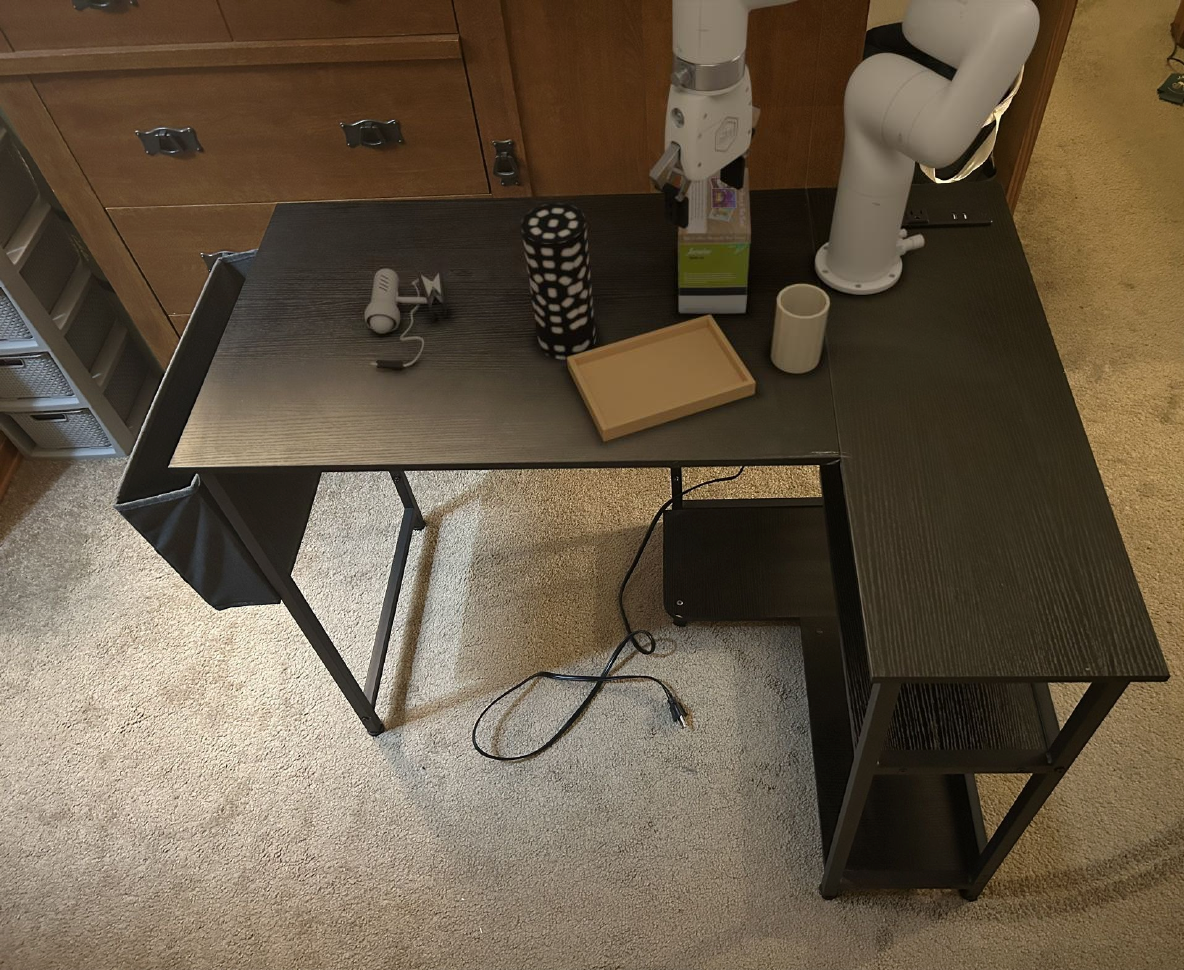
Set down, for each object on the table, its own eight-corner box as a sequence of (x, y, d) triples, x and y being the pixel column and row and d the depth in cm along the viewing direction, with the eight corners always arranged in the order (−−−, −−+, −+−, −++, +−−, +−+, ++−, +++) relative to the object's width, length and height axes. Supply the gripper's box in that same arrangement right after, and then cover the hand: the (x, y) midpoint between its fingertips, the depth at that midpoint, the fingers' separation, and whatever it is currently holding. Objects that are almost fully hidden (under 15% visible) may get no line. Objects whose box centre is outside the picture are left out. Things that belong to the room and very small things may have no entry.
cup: (805, 334, 130) (814, 278, 122) (828, 365, 126) (839, 309, 118) (762, 347, 129) (768, 292, 121) (784, 379, 125) (791, 324, 117)
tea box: (679, 250, 143) (680, 166, 131) (744, 249, 142) (751, 165, 130) (676, 315, 134) (677, 231, 122) (746, 316, 133) (754, 231, 121)
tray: (709, 326, 132) (710, 313, 130) (754, 394, 124) (755, 382, 122) (567, 368, 129) (566, 357, 127) (603, 442, 120) (602, 430, 118)
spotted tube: (589, 362, 129) (578, 246, 114) (532, 356, 131) (513, 241, 115) (600, 322, 134) (591, 205, 118) (545, 317, 136) (529, 201, 120)
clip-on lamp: (443, 383, 133) (451, 281, 140) (438, 359, 127) (446, 254, 135) (361, 382, 132) (373, 280, 140) (352, 358, 127) (365, 253, 134)
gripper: (678, 112, 91) (678, 252, 104) (790, 42, 97) (776, 182, 111) (624, 86, 94) (631, 225, 108) (735, 21, 101) (728, 159, 114)
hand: (704, 203), depth 109 cm, fingers open, 9 cm apart
